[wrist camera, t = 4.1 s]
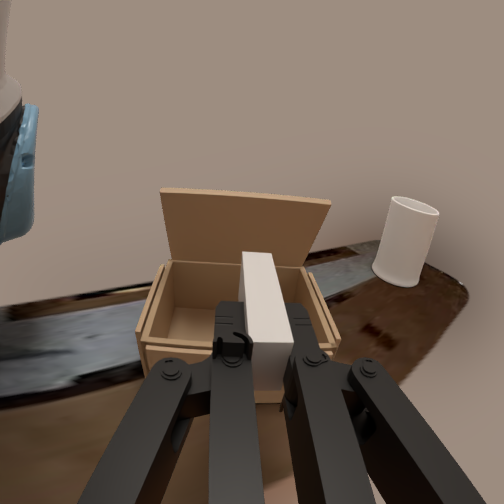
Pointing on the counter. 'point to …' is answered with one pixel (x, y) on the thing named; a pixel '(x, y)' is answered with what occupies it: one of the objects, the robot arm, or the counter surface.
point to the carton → (203, 312)
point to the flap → (240, 225)
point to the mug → (405, 241)
